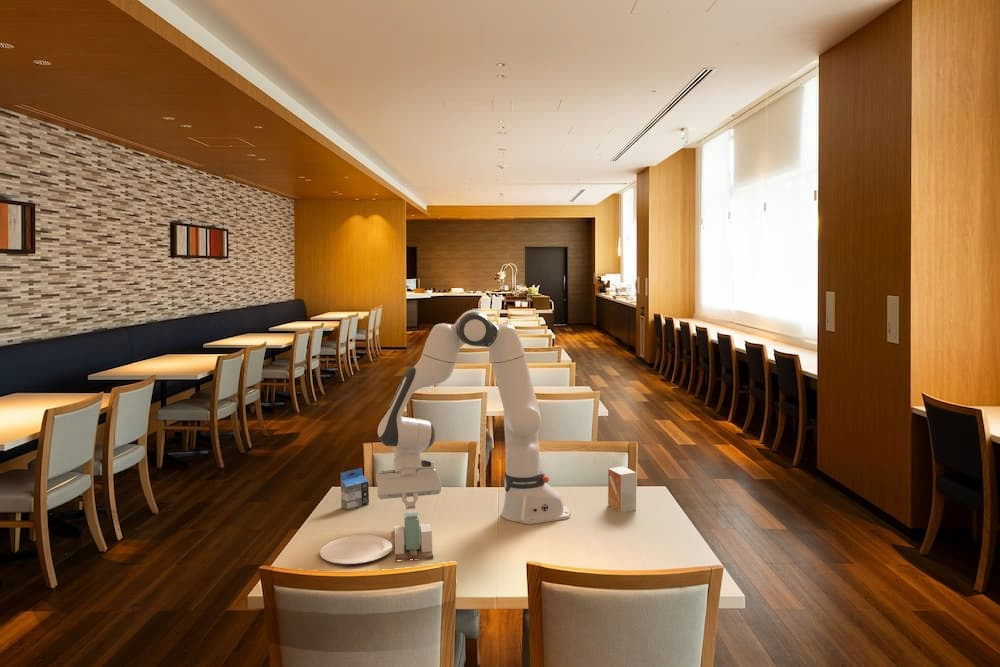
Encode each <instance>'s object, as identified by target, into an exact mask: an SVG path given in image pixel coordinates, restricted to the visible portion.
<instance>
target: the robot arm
mask: <svg viewBox="0 0 1000 667" xmlns="http://www.w3.org/2000/svg"><path fill="white" fill-rule="evenodd" d="M465 345H468V346H470V347H485V348H487V350H488V353H489V356H490V360H491V364H492V369H493V372H494V376H495V381H496V385H497V386H496V387H497V390H498V393H499V396H500V399H501V404H502V408H503V428H504V442H505V444H504V445H505V472H504V477H503V478H504V480H503V482H504V484H503V486H504V490H505V494H504V501H503V507H502V511H501V517H502V518H504V519H506V520H508V521H512V522H518V523H521V524H524V525H534V524H541V523H547V522H554V521H559V520H566V519H569V518H570V516H571V513H570V509H569V507H567V506H566V505H565V504H564V503H563V499H562V496H561V494H560V493H559V492H558V491H557V490H556V489H555V488H553V487H552V486H550V485H549V484H548V483H549V481H550V477H549V476H548V475H546V474H545V473H544V472H542V471H540V445H539V434H538V433H539V432H538V431H539V430H540V427H541V423H542V414H541V410H540V407H539V402H538V399H537V395H536V391H535V389H534V385H533V382H532V378H531V373H530V370H529V365H528V362H527V357H526V354H525V349H524V346H523V343H522V341H521V338H520V336H519V332H518V331H517V329H516V327H514V325H512V324H510V323H509V324H508V323H500V324H495V323H493V321H492V320H491V319H490V317H489V315H487V314H486V313H485V312H484V311H482V310H480V309H477V308H473V309H468V310H466V311H464V312H462V314H460V316H459V317H458V318H456V319H455V321H453V323H452V324H450V323H444V322H442V323H438V324H435V325H434V326H433V327H432V328H431V330H430V332H429V334H428V336H427V339H426V341H425V343H424V346H423V350H422V353H421V356H420V359H419V360H418V362H416V363H415V365H414V366H413V367H410V368H408V369H407V370H406V371H405V373H404V375H403V376H402V379H401V380H400V382H399V385H398V387H397V389H396V390H395V392H394V395H393V396H392V399H391V402H390V403H389V405H388V408H387V409H386V412H385V413H384V414H383V416H382V417H381V419H380V421H379V423H378V426H377V431H376V433H377V438H378V440H379V441H380V442H381V443H382V445H384V446H385V447H392V452H393V454H394V457H393V469H388V470H380V471H379V472H377V473H376V475H375V483H376V484H377V492H376V493H377V497H378V499H380V500H386V499H387V500H388V499H397V498H398V499H399V498H401V501H402V502H403V503H404V505H405V510H411V509H412V510H413V509H416V503H417V501H418V499H419V497H420V496H421V497H422V496H434V495H435V496H437V495H439V494H440V493H441V492H442V485H441V484H442V483H441V479H440V475H439V472H438V471H437V470H436V464H435V462H434V461H432V460H427V459H422V458H421V456H420V455H421V453H425V451H427V450H428V449H429V448H430V447H432V446H433V444H434V443H435V441H436V440H435V438H436V432H435V430H436V429H435V427H434V424H433V423H432V422H431V421H430V420H426V419H422V418H414V417H408V416H402V415H403V413H404V412H405V409H406V407H407V404H408V403H409V400H410V399H411V396H412V395H413V394H414V393H415V392H417V391H418V390H421V389H424V388H428V387H435V386H438V385H440V384H442V383H444V382H446V381H448V380H449V378H451V377H452V374H453V372H454V369H455V366H456V362H457V358H458V355H459V351H460V350H461V349H462V347H463V346H465ZM411 497H412V498H413V500H412V501H408V500H407V498H411Z"/></svg>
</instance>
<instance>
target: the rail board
mask: <svg viewBox="0 0 1000 667" xmlns="http://www.w3.org/2000/svg"><path fill="white" fill-rule="evenodd" d="M403 532H404V554H395V553H394V554H395V555H394V556H396V557H395V561H396V560H410V559H413V560H412V561H416V560H415V559H425V560H432V559H434V554H433V550H432V551H430V552H422V550H421V543H420V549H413V550H406V547H405V526H403ZM419 538H420V525H419ZM393 540H394V541H395V532H394V531H393Z"/></svg>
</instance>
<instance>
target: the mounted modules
mask: <svg viewBox="0 0 1000 667" xmlns="http://www.w3.org/2000/svg"><path fill="white" fill-rule="evenodd" d="M419 526H420V543H421V550H422V552H430V551H432V552H433V533H432V532H433V530H432V527H431V523H421V524H419ZM403 527H404V526H403V525H397V526H396V525H394V526H393V533H394V532H395V542H394V554H404V532H403Z"/></svg>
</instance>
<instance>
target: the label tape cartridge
mask: <svg viewBox="0 0 1000 667" xmlns="http://www.w3.org/2000/svg"><path fill="white" fill-rule="evenodd" d="M351 474H352V475H351ZM369 490H370V489H369V481H368V479H367V478H366V476H364V474H363V467H359V468H356V469H352V470H346V471H342V472H340V502H341V503H340V504H341V505H340V506H341V509H344V510H346V511H349V510H352V509H356V507H357V508H359V507H364V506H367V504H368V505H370V494H369V493H370V492H369ZM363 505H364V506H363Z"/></svg>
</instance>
